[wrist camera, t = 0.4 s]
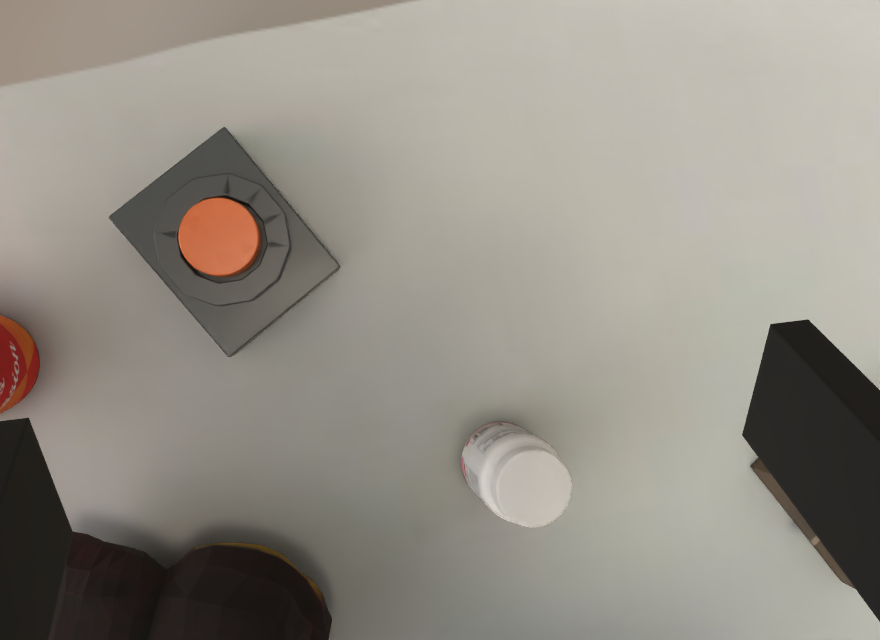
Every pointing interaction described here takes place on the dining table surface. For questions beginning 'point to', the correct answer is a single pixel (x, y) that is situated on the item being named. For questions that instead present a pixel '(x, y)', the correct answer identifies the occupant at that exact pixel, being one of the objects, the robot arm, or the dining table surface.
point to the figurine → (186, 595)
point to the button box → (260, 286)
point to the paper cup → (16, 363)
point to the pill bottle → (516, 474)
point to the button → (219, 237)
